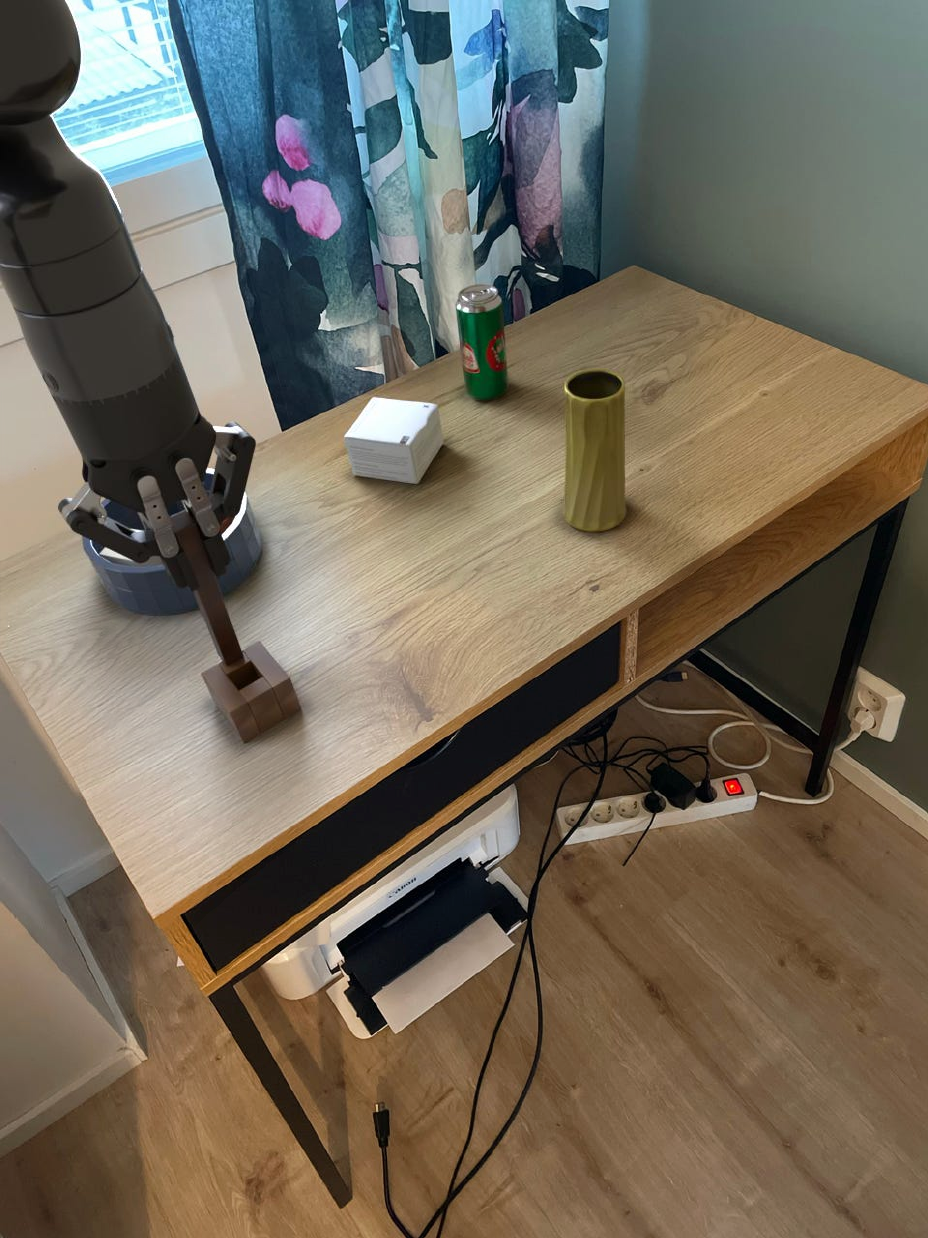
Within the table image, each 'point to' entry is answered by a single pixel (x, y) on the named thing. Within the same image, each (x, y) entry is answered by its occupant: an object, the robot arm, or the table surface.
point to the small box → (394, 440)
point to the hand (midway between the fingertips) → (203, 576)
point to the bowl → (152, 584)
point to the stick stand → (252, 692)
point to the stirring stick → (207, 589)
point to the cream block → (124, 561)
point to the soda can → (482, 341)
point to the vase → (595, 450)
